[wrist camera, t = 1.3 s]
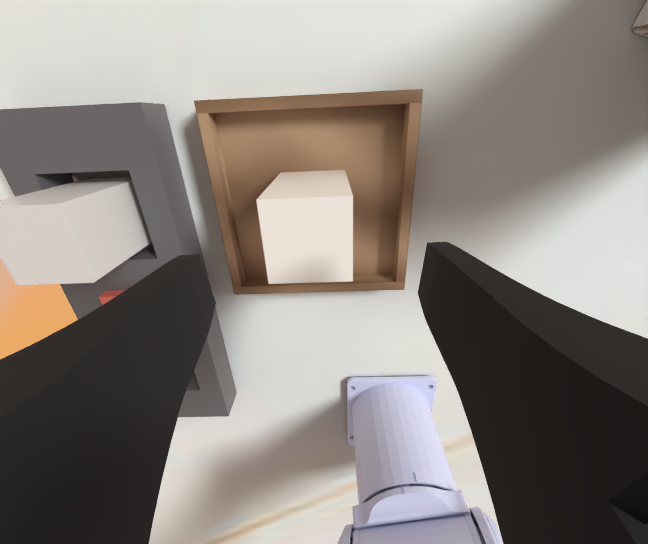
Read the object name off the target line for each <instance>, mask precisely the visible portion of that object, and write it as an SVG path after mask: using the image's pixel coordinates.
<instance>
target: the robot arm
mask: <svg viewBox="0 0 648 544" xmlns="http://www.w3.org/2000/svg"><path fill="white" fill-rule="evenodd" d="M418 295H419V299H420V302H421V306H422V309H423V313H424V316H425V319H426V321H427V324H428V326H429V328H430V330H431V333H432V335H433V337H434V339H435V341H436V344H437V346H438V348H439V350H440V352H441V354H442V357H443V359H444V361H445V363H446V365H447V367H448V370H449V372H450V374H451V376H452V378H453V381H454V383H455V385H456V388H457V390H458V393H459V396H460V398H461V401H462V404H463V407H464V410H465V413H466V416H467V419H468V422H469V425H470V428H471V431H472V434H473V438H474V441H475V444H476V447H477V450H478V454H479V457H480V460H481V463H482V467H483V470H484V474H485V477H486V481H487V484H488V488H489V491H490V495H491V498H492V502H493V505H494V509H495V513H496V517H497V521H498V525H499V529H500V533H501V535H500V533H499V531H498V529H497V527H496V525H495V523H494V521H493V520H492V519H491V518H490V517H489V516H488V515H487V514H485V513H484V512H482V510H481V509H480V508H479V507H473V508H469V509H470V512H469V509H468V506H467V503H466V501H465V498H464V495H463V492H462V491H461V490H458V489H457V486H456V483H455V480H454V477H453V474H452V471H451V469H450V466H449V463H448V460H447V457H446V454H445V451H444V448H443V445H442V443H441V440H440V437H439V434H438V431H437V428H436V425H435V422H434V420H433V417H432V414H431V412H432V406H433V401H434V395H435V390H436V384H437V381H436V378H435V377H434V376H400V377H352V378H349V379H348V380H347V440H348V445H349V446H354V448H355V461H356V474H357V487H358V500H359V505H356V506H353V522H354V524H351V525H347V526H345V528H344V530H343V532H342V535H341V537H340V539H339V541H338V544H648V339H647V338H644V337H642V336H639V335H636V334H634V333H631V332H628V331H626V330H623V329H620V328H618V327H615V326H612V325H610V324H607V323H605V322H602V321H600V320H597V319H595V318H592V317H590V316H587V315H585V314H583V313H581V312H578V311H576V310H574V309H572V308H569V307H567V306H565V305H563V304H560V303H558V302H556V301H554V300H552V299H550V298H548V297H545V296H543V295H541V294H540V293H538V292H536V291H534V290H532V289H530V288H528V287H526V286H524V285H522V284H520V283H518V282H517V281H515V280H513V279H511V278H509V277H508V276H506V275H504V274H502V273H501V272H499V271H497V270H495V269H494V268H492V267H490V266H489V265H487V264H485V263H483V262H482V261H480V260H478V259H477V258H475V257H473V256H472V255H470V254H468V253H467V252H465V251H463V250H461V249H460V248H458V247H456V246H454V245H452V244H450V243H448V242H433V243H427V247H426V252H425V258H424V263H423V268H422V274H421V279H420V284H419V290H418ZM215 304H216V303H215V300H214V297H213V294H212V291H211V288H210V285H209V282H208V279H207V276H206V273H205V270H204V267H203V264H202V261H201V258H200V255H199V254H192V255H179V256H177V257H176V258H174V259H172V260H170V261H169V262H167V263H166V264H164V265H162V266H161V267H159V268H158V269H156V270H155V271H153V272H152V273H151V274H149V275H148V276H146V277H145V278H143V279H142V280H140V281H139V282H137V283H136V284H134V285H133V286H131V287H130V288H128V289H127V290H125V291H124V292H122V293H121V294H119V295H118V296H116V297H114V298H113V299H111V300H110V301H108V302H106V303H105V304H103V305H102V306H100V307H98V308H97V309H95V310H94V311H92V312H90V313H89V314H87V315H86V316H84V317H82V318H80V319H79V320H77V321H75V322H73V323H72V324H70V325H68V326H67V327H65V328H63V329H61V330H59V331H57V332H55V333H53V334H51V335H50V336H48V337H46V338H44V339H42V340H40V341H38V342H36V343H34V344H32V345H30V346H28V347H26V348H24V349H22V350H20V351H18V352H16V353H13V354H11V355H9V356H7V357H5V358H3V359H1V360H0V544H149V538H150V533H151V528H152V522H153V518H154V513H155V508H156V504H157V499H158V494H159V490H160V485H161V480H162V476H163V472H164V468H165V464H166V460H167V456H168V452H169V448H170V443H171V440H172V436H173V432H174V429H175V425H176V421H177V418H178V414H179V410H180V407H181V404H182V401H183V398H184V395H185V393H186V390H187V387H188V385H189V382H190V380H191V377H192V375H193V372H194V370H195V367H196V364H197V362H198V359H199V357H200V354H201V352H202V349H203V346H204V344H205V341H206V338H207V336H208V333H209V330H210V326H211V322H212V318H213V313H214V309H215ZM429 385H430V386H429ZM352 386H354V387H352ZM501 536H502V537H501Z"/></svg>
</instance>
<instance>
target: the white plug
mask: <svg viewBox="0 0 648 544" xmlns="http://www.w3.org/2000/svg"><path fill="white" fill-rule="evenodd" d="M256 202H257V208H258V215H259V222H260V229H261V236H262V243H263V250H264V256H265V263H266V270H267V277H268V284H282V283H315V282H349V281H353V194H352V191H351V188H350V184H349V181H348V178H347V175H346V172H345V170H330V171H306V172H282V173H280V174H279V175H278V176H277V177H276V178H275V179H274V180H273V182H272V183H271V184H270V185H269V186H268V187H267V188H266V189H265V191H264V192H263V193H262V194H261V195H260V196H259V197H258V198H257V199H256Z"/></svg>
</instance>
